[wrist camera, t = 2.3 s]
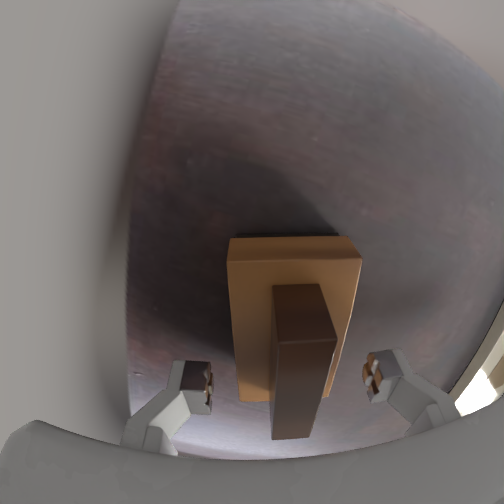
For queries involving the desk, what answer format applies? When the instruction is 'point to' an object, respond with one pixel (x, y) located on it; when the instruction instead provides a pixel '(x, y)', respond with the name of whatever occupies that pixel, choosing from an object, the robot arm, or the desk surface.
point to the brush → (290, 320)
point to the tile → (483, 372)
